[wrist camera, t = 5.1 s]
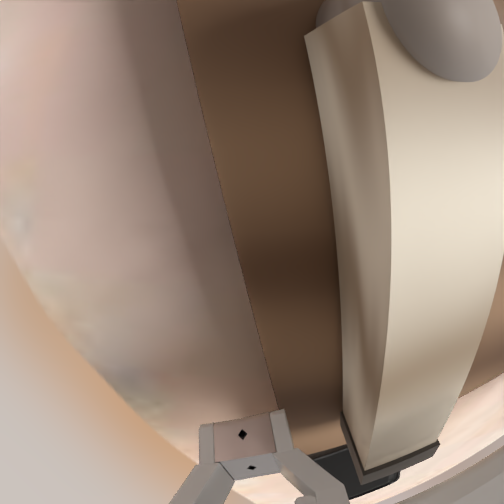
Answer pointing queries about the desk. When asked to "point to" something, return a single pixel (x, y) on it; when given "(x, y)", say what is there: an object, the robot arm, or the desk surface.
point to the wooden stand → (287, 202)
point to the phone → (348, 471)
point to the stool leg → (410, 209)
